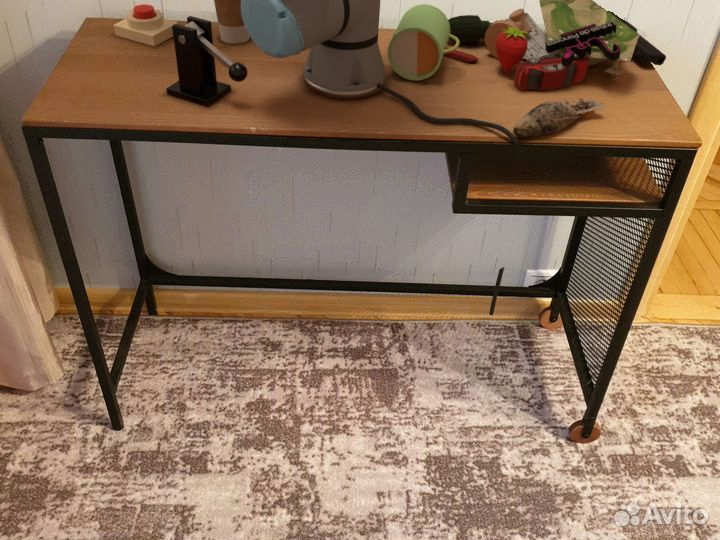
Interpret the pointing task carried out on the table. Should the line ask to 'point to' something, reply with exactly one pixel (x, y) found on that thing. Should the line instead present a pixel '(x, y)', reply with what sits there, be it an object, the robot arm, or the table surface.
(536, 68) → the toy car
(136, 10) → the stop button
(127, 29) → the button housing
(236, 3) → the coffee cup
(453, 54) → the utility knife
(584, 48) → the logo
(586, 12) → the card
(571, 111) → the bird model
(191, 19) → the lever bracket
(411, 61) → the mug
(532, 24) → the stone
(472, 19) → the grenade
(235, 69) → the press lever
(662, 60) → the handgun
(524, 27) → the door knob
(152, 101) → the table surface
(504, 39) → the strawberry
